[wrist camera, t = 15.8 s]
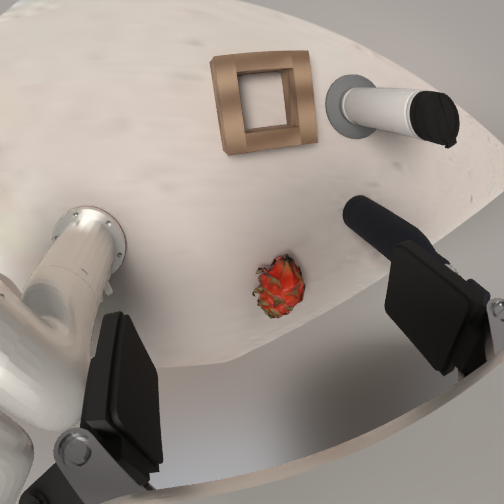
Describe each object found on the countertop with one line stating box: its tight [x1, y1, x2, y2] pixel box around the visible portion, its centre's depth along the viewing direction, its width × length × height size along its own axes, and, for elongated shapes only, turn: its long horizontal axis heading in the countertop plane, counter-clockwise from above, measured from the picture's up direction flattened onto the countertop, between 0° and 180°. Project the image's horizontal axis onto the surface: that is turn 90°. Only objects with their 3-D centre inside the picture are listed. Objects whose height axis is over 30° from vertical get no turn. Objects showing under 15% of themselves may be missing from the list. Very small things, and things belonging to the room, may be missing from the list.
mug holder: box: [210, 51, 318, 155], centre depth 37 cm, size 13×13×5 cm
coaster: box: [325, 75, 376, 139], centre depth 43 cm, size 11×11×1 cm
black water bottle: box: [343, 195, 490, 307], centre depth 39 cm, size 6×6×30 cm
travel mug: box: [339, 88, 460, 148], centre depth 34 cm, size 6×7×20 cm
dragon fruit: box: [252, 254, 305, 319], centre depth 51 cm, size 8×8×12 cm
